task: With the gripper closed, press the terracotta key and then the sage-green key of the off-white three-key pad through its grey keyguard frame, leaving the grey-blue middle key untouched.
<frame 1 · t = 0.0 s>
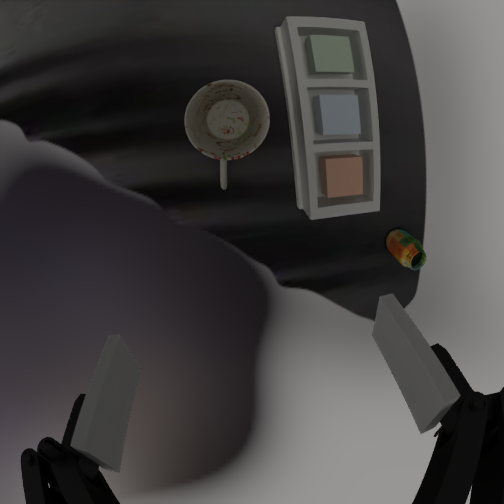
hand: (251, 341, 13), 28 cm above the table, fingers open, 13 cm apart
key b: (337, 114, 29), point 4 cm above the table, slide at 0.0 cm
three-slot tray: (326, 114, 33), on the table
key c: (341, 175, 33), point 4 cm above the table, slide at 0.0 cm
jar: (393, 237, 43), on the table
mug: (227, 134, 34), on the table
key a: (329, 55, 26), point 4 cm above the table, slide at 0.0 cm
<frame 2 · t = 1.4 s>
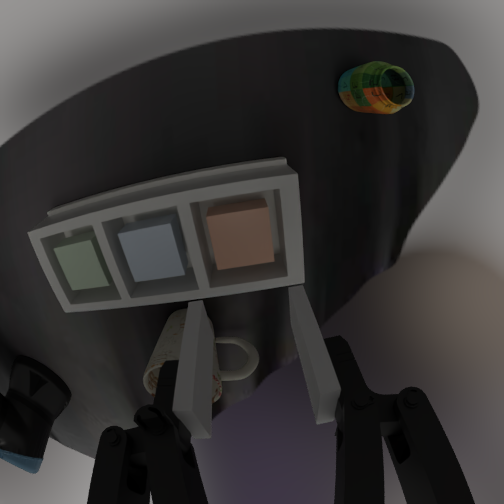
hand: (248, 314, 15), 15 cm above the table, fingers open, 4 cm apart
key b: (154, 248, 24), point 4 cm above the table, slide at 0.0 cm
three-slot tray: (163, 230, 28), on the table
key c: (241, 234, 24), point 4 cm above the table, slide at 0.0 cm
jar: (353, 90, 22), on the table
mug: (206, 324, 34), on the table
key a: (85, 261, 24), point 4 cm above the table, slide at 0.0 cm
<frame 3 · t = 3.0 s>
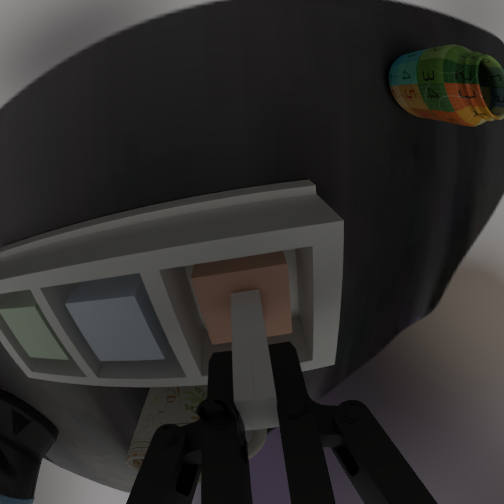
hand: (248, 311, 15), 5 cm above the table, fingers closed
key b: (119, 320, 15), point 4 cm above the table, slide at 0.0 cm
three-slot tray: (136, 283, 19), on the table
key c: (244, 296, 16), point 3 cm above the table, slide at -0.9 cm, touching gripper
jar: (406, 85, 14), on the table
mug: (200, 386, 26), on the table
key a: (38, 324, 15), point 4 cm above the table, slide at 0.0 cm
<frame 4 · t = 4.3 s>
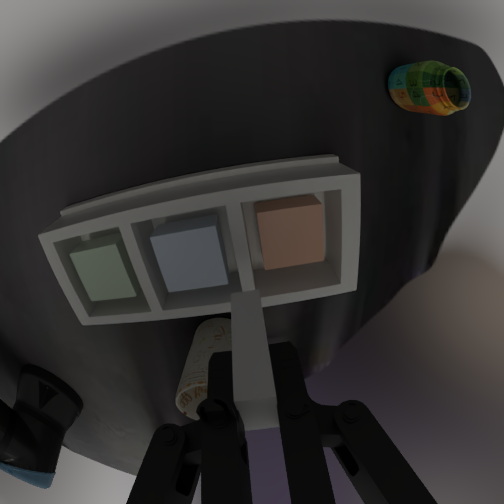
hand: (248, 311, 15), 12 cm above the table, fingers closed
key b: (191, 254, 21), point 4 cm above the table, slide at 0.0 cm
three-slot tray: (197, 232, 25), on the table
key c: (289, 232, 22), point 3 cm above the table, slide at -1.2 cm
jar: (401, 88, 19), on the table
mug: (238, 334, 32), on the table
key a: (106, 267, 22), point 4 cm above the table, slide at 0.0 cm
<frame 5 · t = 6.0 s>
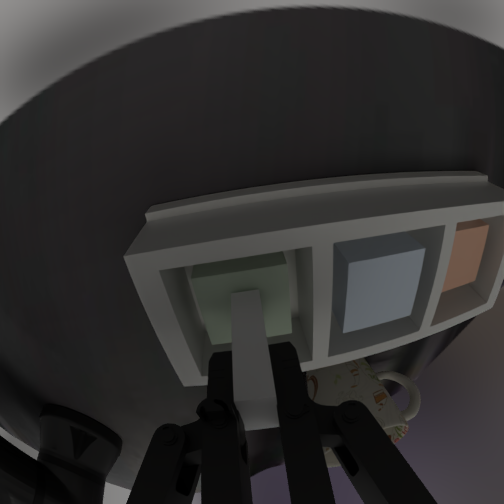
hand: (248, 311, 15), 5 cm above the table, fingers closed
key b: (376, 281, 15), point 4 cm above the table, slide at 0.0 cm
three-slot tray: (351, 249, 19), on the table
key c: (454, 252, 16), point 3 cm above the table, slide at -1.2 cm
mug: (352, 361, 26), on the table
key a: (244, 296, 16), point 3 cm above the table, slide at -0.9 cm, touching gripper
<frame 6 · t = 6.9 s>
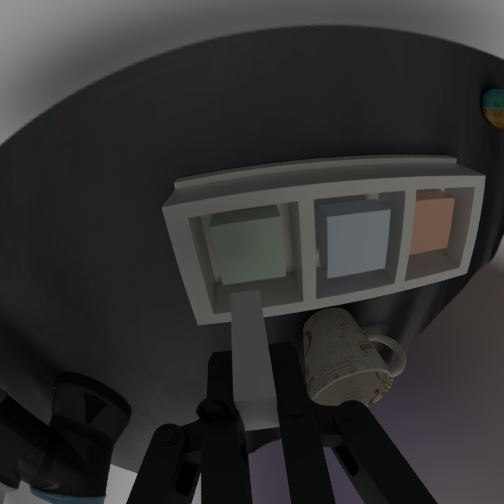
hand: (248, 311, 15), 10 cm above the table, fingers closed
key b: (353, 237, 20), point 4 cm above the table, slide at 0.0 cm
three-slot tray: (336, 217, 24), on the table
key c: (425, 220, 21), point 3 cm above the table, slide at -1.2 cm
jar: (488, 106, 18), on the table
mug: (343, 323, 31), on the table
key a: (249, 245, 21), point 3 cm above the table, slide at -1.2 cm
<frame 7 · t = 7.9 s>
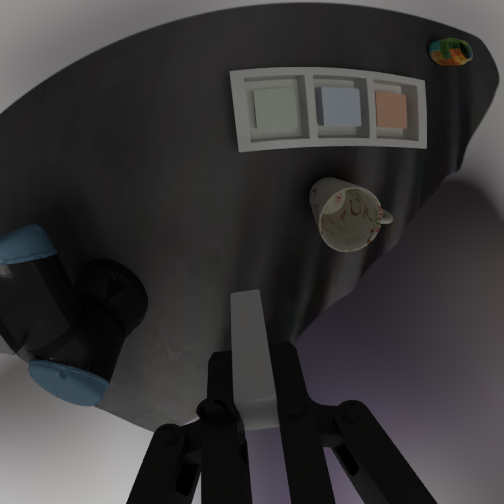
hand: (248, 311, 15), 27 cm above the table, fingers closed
key b: (338, 106, 29), point 4 cm above the table, slide at 0.0 cm
three-slot tray: (328, 107, 33), on the table
key c: (388, 110, 30), point 3 cm above the table, slide at -1.2 cm
jar: (435, 54, 28), on the table
mug: (340, 197, 40), on the table
key a: (274, 108, 31), point 3 cm above the table, slide at -1.2 cm
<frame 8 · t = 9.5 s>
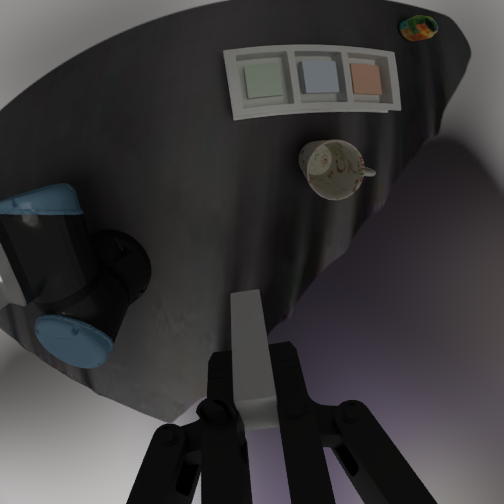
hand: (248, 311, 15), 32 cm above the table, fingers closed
key b: (318, 77, 33), point 4 cm above the table, slide at 0.0 cm
three-slot tray: (310, 80, 36), on the table
key c: (363, 79, 34), point 3 cm above the table, slide at -1.2 cm
jar: (405, 32, 31), on the table
mug: (327, 159, 43), on the table
key a: (263, 81, 34), point 3 cm above the table, slide at -1.2 cm
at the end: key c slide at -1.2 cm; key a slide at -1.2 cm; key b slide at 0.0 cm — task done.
